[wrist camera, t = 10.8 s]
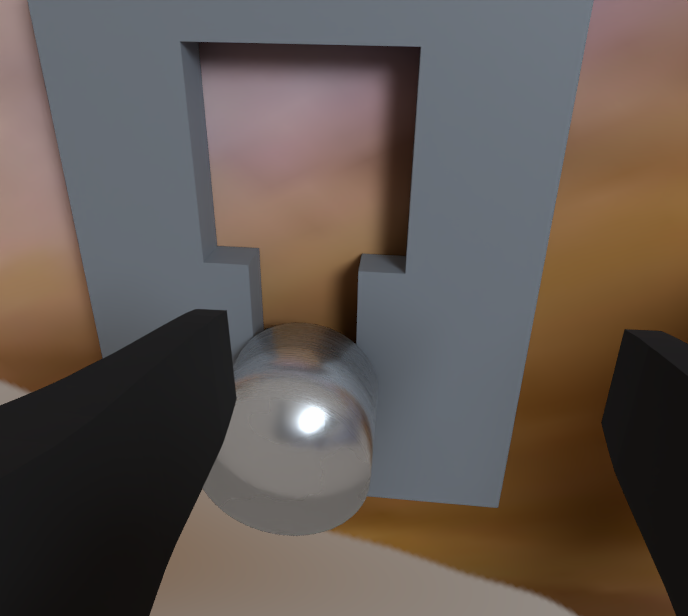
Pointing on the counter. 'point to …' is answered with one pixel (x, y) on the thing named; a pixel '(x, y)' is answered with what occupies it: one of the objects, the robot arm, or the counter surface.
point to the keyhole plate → (375, 270)
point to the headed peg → (297, 432)
